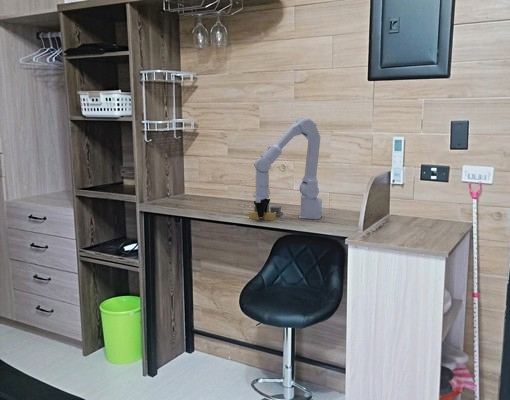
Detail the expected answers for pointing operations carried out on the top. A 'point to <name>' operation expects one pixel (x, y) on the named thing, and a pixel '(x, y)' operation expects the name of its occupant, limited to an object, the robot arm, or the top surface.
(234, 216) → the top surface
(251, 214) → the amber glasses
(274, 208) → the display stand
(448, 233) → the top surface
